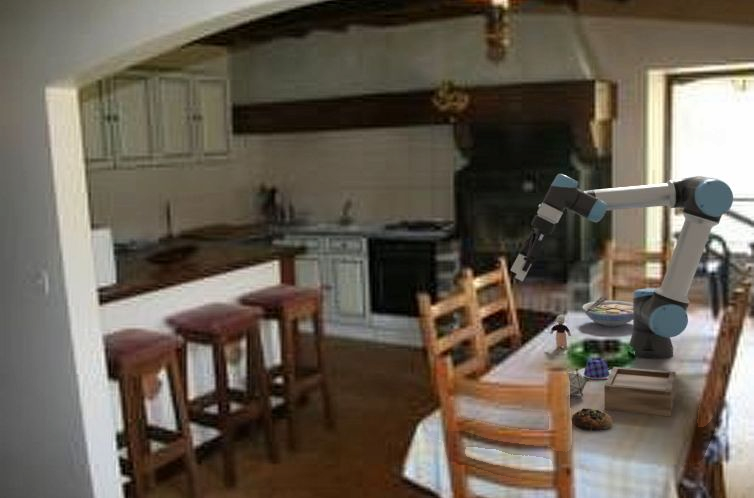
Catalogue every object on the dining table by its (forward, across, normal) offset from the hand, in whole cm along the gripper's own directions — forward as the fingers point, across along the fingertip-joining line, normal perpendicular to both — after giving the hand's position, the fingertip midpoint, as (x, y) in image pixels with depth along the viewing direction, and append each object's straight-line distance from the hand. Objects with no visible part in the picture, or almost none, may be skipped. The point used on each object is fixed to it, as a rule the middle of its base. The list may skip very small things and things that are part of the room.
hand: (516, 275), depth 258 cm
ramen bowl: (+7, -54, +54) cm, 77 cm away
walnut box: (+14, +32, +44) cm, 56 cm away
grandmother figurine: (+20, -24, +32) cm, 45 cm away
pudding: (+17, +5, +38) cm, 42 cm away
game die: (+23, +24, +28) cm, 44 cm away
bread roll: (+23, +47, +30) cm, 60 cm away
